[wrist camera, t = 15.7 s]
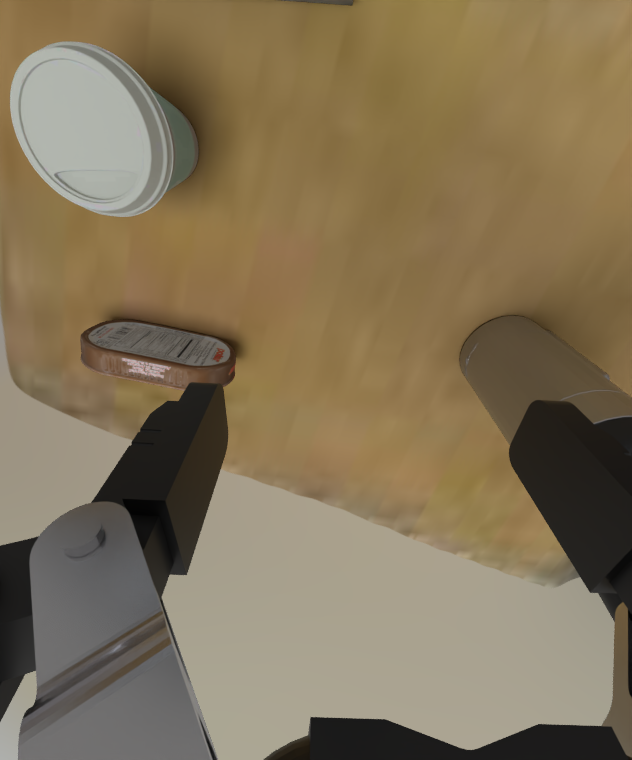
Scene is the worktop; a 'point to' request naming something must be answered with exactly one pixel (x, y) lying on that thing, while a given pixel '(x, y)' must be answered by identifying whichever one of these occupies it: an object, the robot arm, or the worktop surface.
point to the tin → (156, 354)
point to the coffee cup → (99, 129)
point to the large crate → (327, 1)
